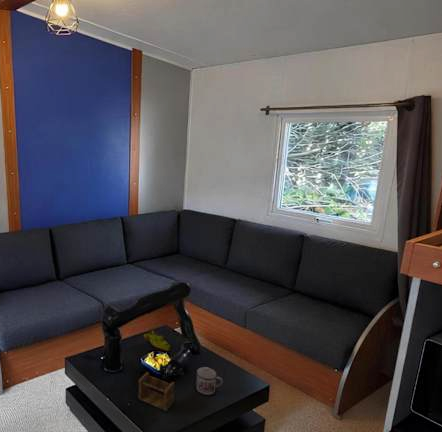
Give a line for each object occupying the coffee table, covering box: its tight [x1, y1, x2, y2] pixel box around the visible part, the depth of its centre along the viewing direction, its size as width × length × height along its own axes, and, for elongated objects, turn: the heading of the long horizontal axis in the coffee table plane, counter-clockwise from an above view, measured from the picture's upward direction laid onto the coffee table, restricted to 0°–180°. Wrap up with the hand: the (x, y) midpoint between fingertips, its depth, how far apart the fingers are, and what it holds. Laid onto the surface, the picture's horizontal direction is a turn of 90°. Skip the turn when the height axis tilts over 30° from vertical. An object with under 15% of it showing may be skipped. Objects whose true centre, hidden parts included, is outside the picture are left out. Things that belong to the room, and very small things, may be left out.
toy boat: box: [143, 330, 171, 352], centre depth 228 cm, size 6×18×10 cm, turn 34°
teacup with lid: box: [195, 366, 223, 396], centre depth 190 cm, size 12×9×12 cm
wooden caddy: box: [137, 371, 176, 412], centre depth 183 cm, size 14×8×10 cm, turn 53°
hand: (163, 379), depth 189 cm, fingers closed
